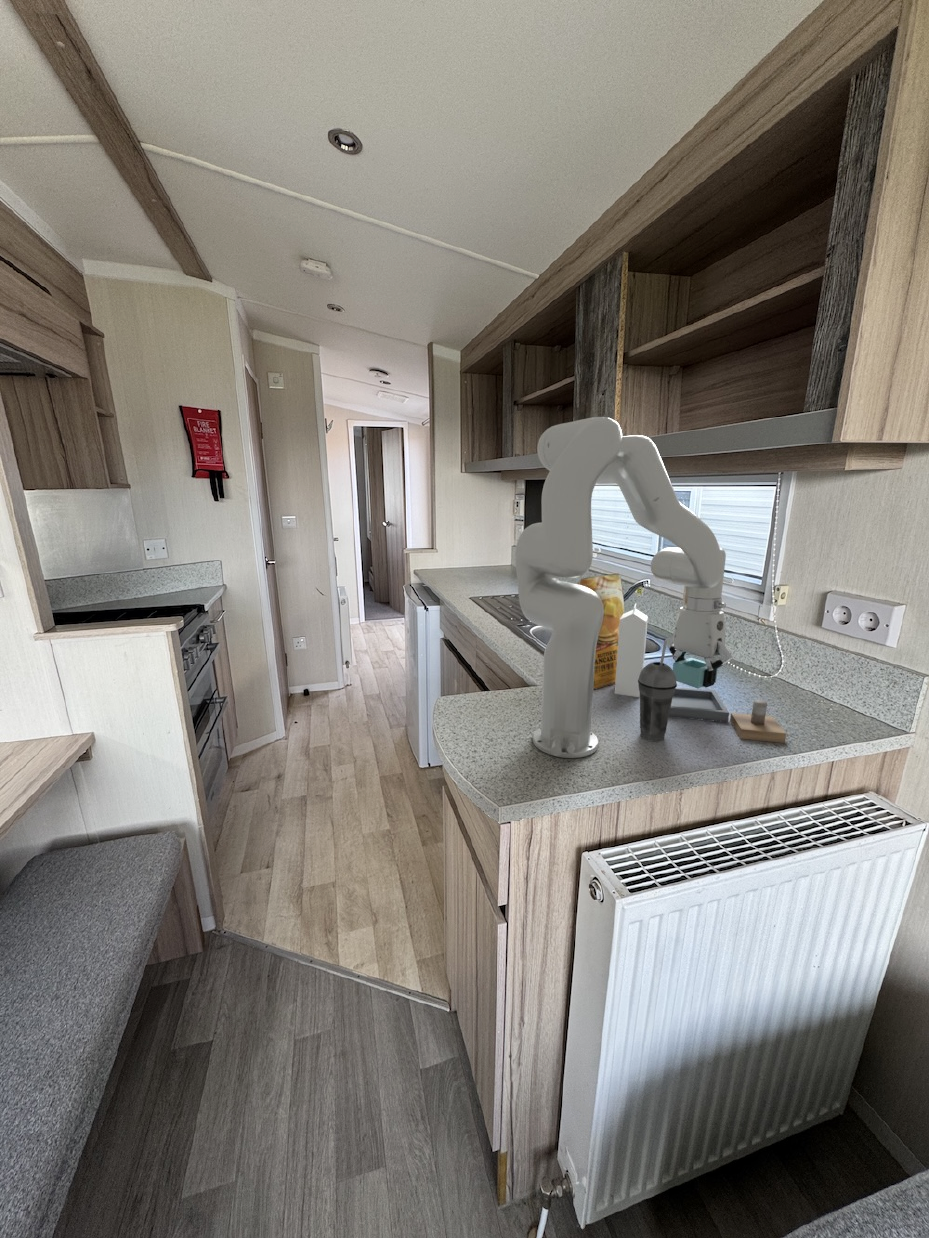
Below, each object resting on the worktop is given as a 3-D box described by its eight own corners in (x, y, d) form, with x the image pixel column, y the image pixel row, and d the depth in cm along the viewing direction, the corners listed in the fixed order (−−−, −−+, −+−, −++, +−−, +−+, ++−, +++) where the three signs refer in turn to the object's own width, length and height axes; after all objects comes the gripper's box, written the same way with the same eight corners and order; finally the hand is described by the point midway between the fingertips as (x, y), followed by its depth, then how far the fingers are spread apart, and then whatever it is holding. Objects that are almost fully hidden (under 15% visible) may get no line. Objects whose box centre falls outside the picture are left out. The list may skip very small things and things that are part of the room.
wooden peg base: (784, 742, 100) (789, 712, 98) (740, 738, 101) (744, 708, 100) (771, 725, 107) (775, 696, 106) (729, 721, 109) (733, 693, 107)
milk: (614, 694, 124) (619, 606, 119) (617, 685, 130) (622, 601, 124) (640, 697, 122) (647, 608, 117) (642, 689, 127) (649, 603, 122)
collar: (721, 680, 115) (723, 663, 114) (697, 688, 110) (699, 671, 109) (695, 672, 120) (697, 656, 119) (671, 679, 116) (673, 662, 115)
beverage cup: (625, 731, 104) (633, 638, 100) (654, 725, 107) (662, 634, 102) (650, 747, 98) (659, 648, 93) (679, 741, 100) (690, 644, 96)
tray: (727, 722, 109) (729, 712, 108) (663, 716, 112) (664, 707, 111) (713, 699, 121) (715, 690, 120) (656, 694, 124) (657, 685, 123)
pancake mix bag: (563, 685, 130) (568, 577, 123) (613, 671, 140) (620, 570, 133) (583, 694, 124) (589, 581, 118) (633, 678, 135) (641, 574, 128)
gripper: (750, 608, 105) (740, 689, 109) (677, 595, 120) (671, 667, 124) (729, 613, 101) (719, 697, 106) (656, 599, 116) (650, 673, 120)
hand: (693, 680), depth 115 cm, fingers closed on collar, 6 cm apart
